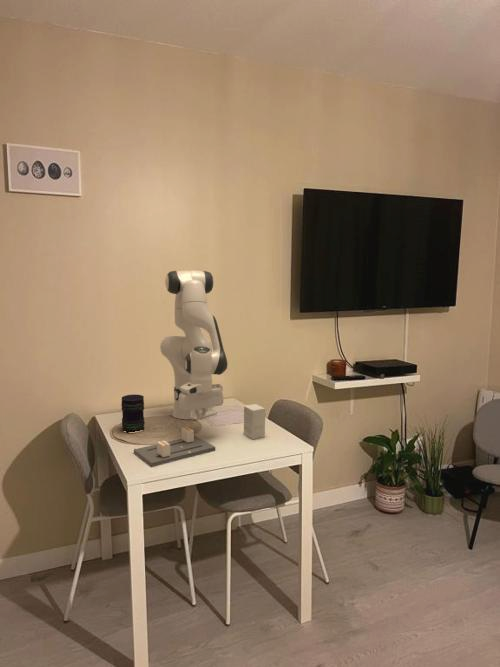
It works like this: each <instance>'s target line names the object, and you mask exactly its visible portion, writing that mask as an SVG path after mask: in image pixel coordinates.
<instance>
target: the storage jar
mask: <svg viewBox="0 0 500 667" xmlns="http://www.w3.org/2000/svg"><path fill="white" fill-rule="evenodd" d="M144 399H145V398H144V395H141V394H127V395H124V396H122V397H121V411H122V412H121V413H122V414H121V416H122V418H121V427H122V428H121V430H123V431H126V432H135V431H140V430H143V429H144V430H145V417H144V416H145V415H144V409H145V401H144ZM144 430H143V431H144ZM123 431H122V432H123Z"/></svg>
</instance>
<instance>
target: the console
mask: <svg viewBox="0 0 500 667" xmlns="http://www.w3.org/2000/svg"><path fill="white" fill-rule="evenodd" d="M166 442H167V443H169V444H170V456H166V457H162V456H161V455H159V454H158V453H157V443H156V444H152V445H147V446H144V447H143V446H142V447H140V448H139V447H138V448H134V449H133V454H134V455H135V456H137V457H138V458H140V459H141V460H142V461H143V462H145V463H146V464H147V465H148V466H150V467H152V468H153V467H157V466H160V465H164V464H168V463H172V462H176V461H179V460H185V459H188V458H191V457H195V456H199V455H203V454H206V453H210V452H215V451H216V446H215V445H213V444H212V443H210V442H208V441H206V440H205V439H202V438H201V437H199V436H197V435H194V441H192V442H188V443H187V442H185V441H184V440H182V439H181V438H178V439H174V440H169V441H166Z"/></svg>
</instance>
